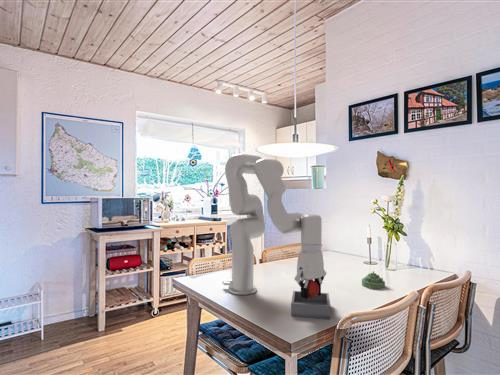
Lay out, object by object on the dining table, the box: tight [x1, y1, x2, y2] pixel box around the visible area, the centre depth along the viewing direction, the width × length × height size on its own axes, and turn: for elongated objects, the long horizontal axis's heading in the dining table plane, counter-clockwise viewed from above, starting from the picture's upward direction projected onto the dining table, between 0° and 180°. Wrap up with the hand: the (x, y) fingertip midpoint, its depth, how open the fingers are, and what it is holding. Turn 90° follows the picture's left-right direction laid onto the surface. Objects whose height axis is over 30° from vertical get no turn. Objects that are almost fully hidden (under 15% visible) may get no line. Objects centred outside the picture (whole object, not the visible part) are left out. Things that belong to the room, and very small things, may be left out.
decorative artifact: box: [361, 270, 386, 290], centre depth 146 cm, size 10×7×10 cm
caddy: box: [290, 290, 332, 320], centre depth 116 cm, size 14×14×4 cm
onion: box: [307, 279, 319, 299], centre depth 116 cm, size 6×6×8 cm
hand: (310, 295), depth 116 cm, fingers closed on onion, 5 cm apart
